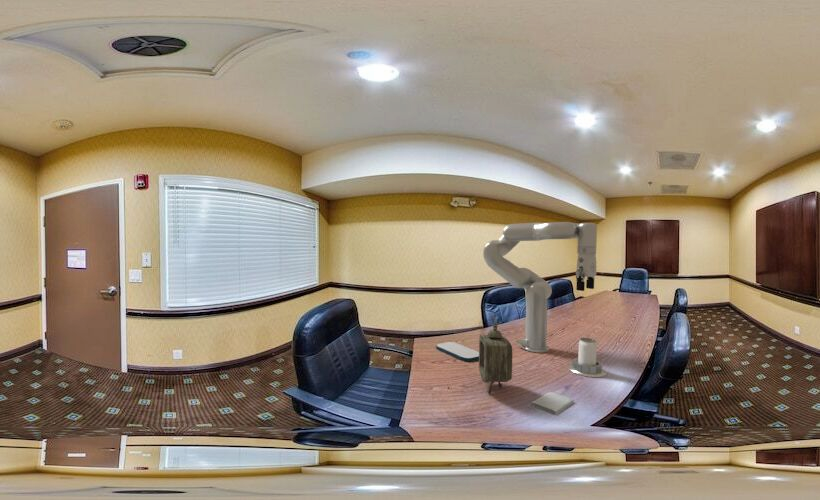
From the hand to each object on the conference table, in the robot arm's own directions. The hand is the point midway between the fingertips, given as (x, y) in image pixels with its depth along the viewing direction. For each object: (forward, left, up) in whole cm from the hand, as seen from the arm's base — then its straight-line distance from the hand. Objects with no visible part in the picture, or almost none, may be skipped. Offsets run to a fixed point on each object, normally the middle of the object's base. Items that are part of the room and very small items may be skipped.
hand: (585, 289), depth 164 cm
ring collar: (-5, -17, -30) cm, 35 cm away
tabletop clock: (-45, -37, -31) cm, 66 cm away
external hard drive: (-55, 0, -31) cm, 63 cm away
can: (-5, -17, -30) cm, 35 cm away
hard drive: (-28, -48, -31) cm, 64 cm away
